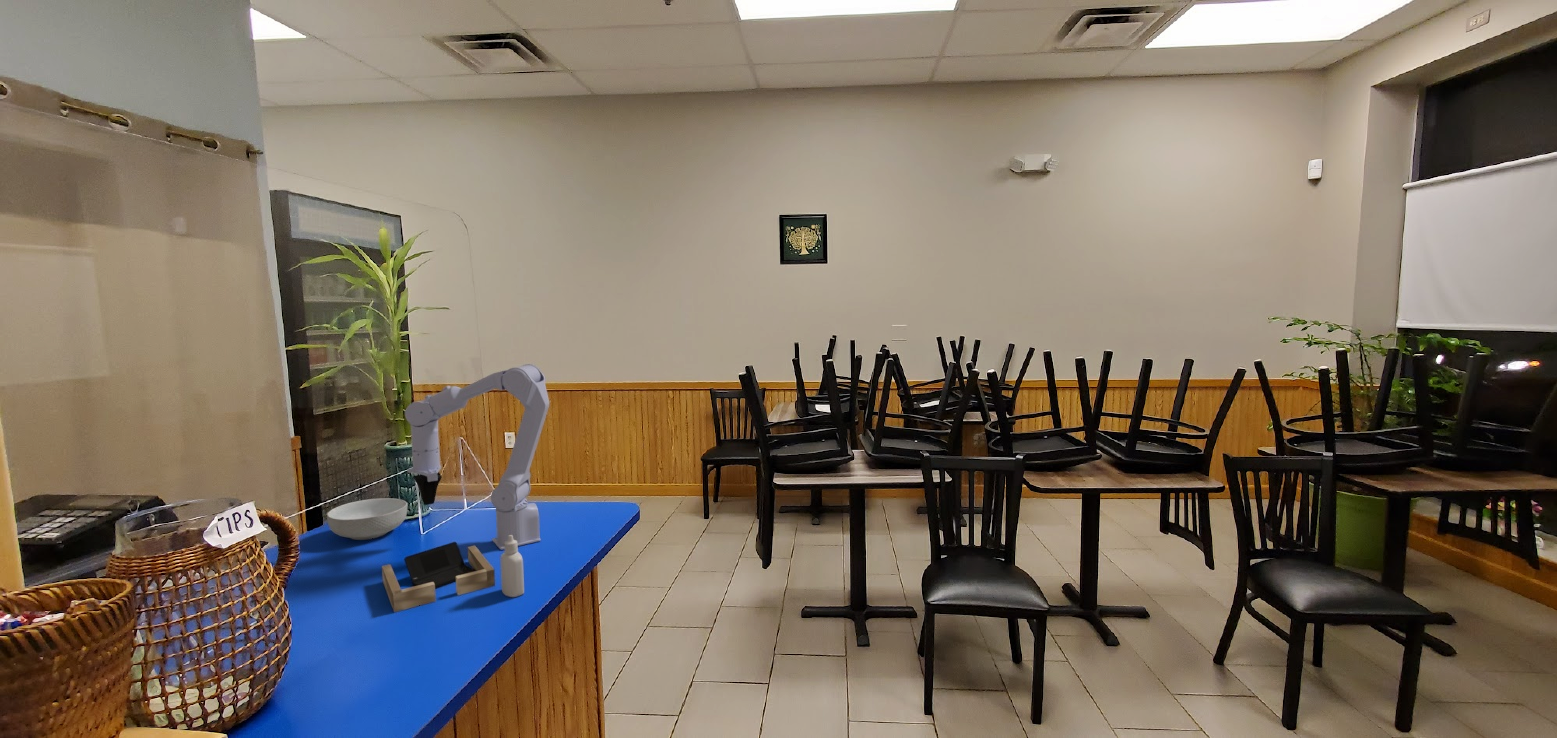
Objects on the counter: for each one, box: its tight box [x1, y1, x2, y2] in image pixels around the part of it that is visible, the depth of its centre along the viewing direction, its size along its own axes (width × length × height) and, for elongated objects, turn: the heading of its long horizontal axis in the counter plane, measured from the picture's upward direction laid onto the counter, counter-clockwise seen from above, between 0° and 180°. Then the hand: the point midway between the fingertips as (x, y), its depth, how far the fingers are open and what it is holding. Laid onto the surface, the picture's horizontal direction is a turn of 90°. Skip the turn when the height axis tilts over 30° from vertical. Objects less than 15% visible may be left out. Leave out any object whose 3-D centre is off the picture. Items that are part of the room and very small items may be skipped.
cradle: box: [381, 544, 496, 613], centre depth 128 cm, size 18×16×4 cm
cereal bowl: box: [326, 497, 408, 541], centre depth 155 cm, size 17×17×7 cm
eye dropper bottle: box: [500, 535, 525, 598], centre depth 124 cm, size 4×6×12 cm
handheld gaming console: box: [403, 541, 476, 590], centre depth 131 cm, size 12×7×10 cm
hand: (428, 503), depth 149 cm, fingers closed
